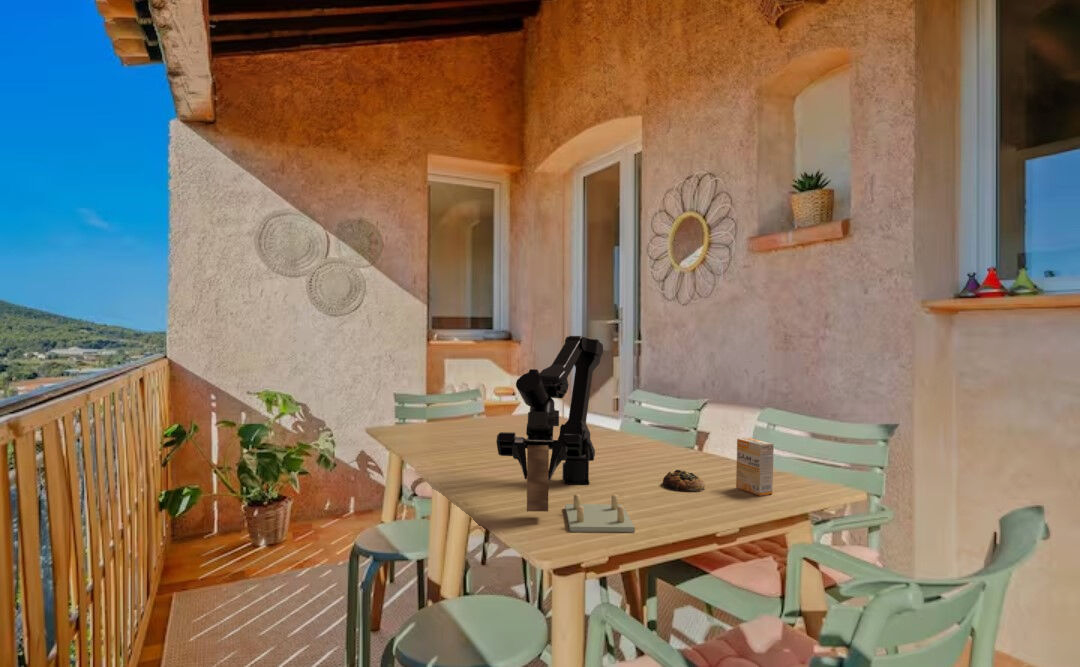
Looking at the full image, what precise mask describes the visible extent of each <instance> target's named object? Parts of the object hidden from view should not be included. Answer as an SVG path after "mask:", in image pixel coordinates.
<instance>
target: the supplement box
mask: <svg viewBox="0 0 1080 667" xmlns="http://www.w3.org/2000/svg"><path fill="white" fill-rule="evenodd" d="M774 445H775V444H774V443H772V442H767V441H764V440H760V439H756V438H752V437H740V438H739V437H738V438H737V441H736V473H735V474H736V477H735V478H736V479H735V488H736V489H739V490H742V491H745V492H747V493H751V494H754V495H756V496H759V497H762V496H761V495H765V496H770V495H769V494H771V495H773V491H774V490H773V483H774V482H773V481H774V450H775V449H774V447H775V446H774Z"/></svg>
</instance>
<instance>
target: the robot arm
mask: <svg viewBox="0 0 1080 667" xmlns="http://www.w3.org/2000/svg"><path fill="white" fill-rule="evenodd" d="M603 353H604V345H603V343H602V342H601V341H600V340H599V339H597V338H587V337H585V336H583V335H569V336H566V337H565V340H564V343H563V346H562V347H561V348H560V351H559V352H558V354H557V355H556V357H555V359H554V361H553V362H552V364H551V365H550V366H548V367H546V368H544V369H542V370H541V371H539V370H538V369H534V368H533V369H531V368H530V369H529V371H528V372H526V373H524V374H522V375H521V376H520V377H518V379H517V380H516V382H515V387H516V389H517V391H518V393H519V395H520V397H521V399H522V401H523V402H524V404H525V405H526V406H528V407H529V411H528V412H527V423H526V436H527V437H526V438H525V437H523V436H517V435H516V432H510V431H509V432H505V431H503V432H502V431H500V432H499V433H498V434H496V442H495V443H496V448H497V455H499V456H501V457H512V458H513V459H514V460H517V462H518V464H519V465H520V468H521V471H522V475H523V477H524V480H527V454H526V451H527V450H526V449H527V445H548V448H549V450H550V451H551V457H550V460H549V481H551V480H552V478H553V475H554V474H555V471H556V470H557V468H558V466H559V465H560V464H561V463H562V461H564V462H563V463H562V470H561V472H562V474H561V476H562V480H563V481H564V484H566V485H590V484H591V483H590V480H589V477H590V474H589V472H590V471H589V470H590V469H589V466H590V463H589V462H593V461H594V460H595V456H596V450H595V447H594V444H593V443H592V441H591V431H590V430H589V428H588V425H587V419H588V418H587V417H588V410H589V402H590V401H589V400H590V397H591V396H590V395H591V386H592V380H593V373H594V371H595V370H596V368H597V367H598V366H599V364H600V362H601V358H602V356H603ZM574 367H575V372H574V378H573V385H572V393H571V399H570V406H569V414H568V419H567V421H565V423H562V424H561V425H560V410H558V409H555V405H556V404H555V400H554V399H563V398H564V397H565V395H566V394H567V392H568V389H569V385H570V384H569V380H568V377H569V375H570V374H571V372H572V370H573V368H574ZM554 427H559V435H558V438H557V439H554Z"/></svg>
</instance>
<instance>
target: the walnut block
mask: <svg viewBox="0 0 1080 667" xmlns="http://www.w3.org/2000/svg"><path fill="white" fill-rule="evenodd" d="M549 450H550V449H549V448H548V445H527V450H526V451H527V454H526V462H527V479H526V512H549V481H550V480H549V466H550V460H549V456H550V451H549Z"/></svg>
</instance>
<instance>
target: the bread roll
mask: <svg viewBox="0 0 1080 667" xmlns="http://www.w3.org/2000/svg"><path fill="white" fill-rule="evenodd" d="M662 483H663V486H664V487H665V488H666V489H667V490H673V491H679V492H690V491H691V492H701V491H700V490H702V491H704V490H705V486H706V482H705V480H704V479H703V478H702V477H701V476H698V475H696V474H695V473H693V472H688V471H686V470H681V469H676V470H674V471H673V472H671V471H669V472H668V473H666V475H665V476H664V477H663V480H662ZM703 489H704V490H703Z"/></svg>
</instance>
